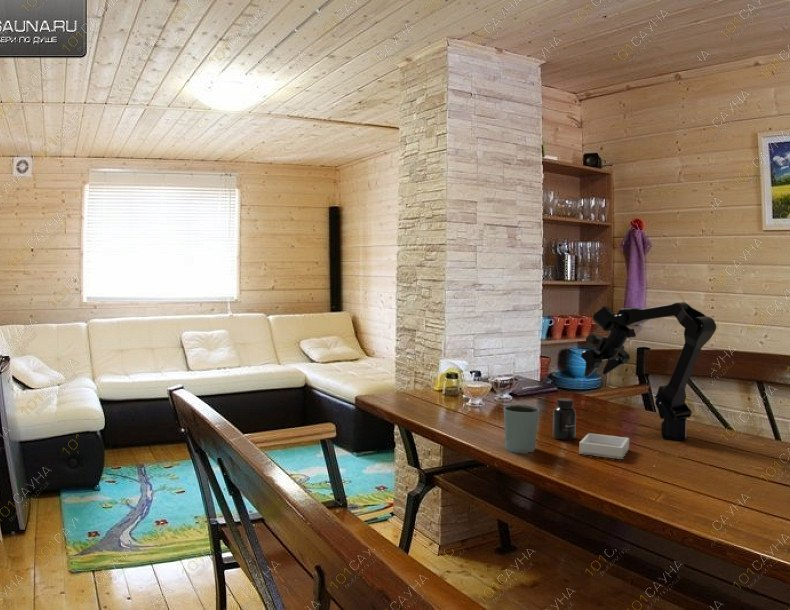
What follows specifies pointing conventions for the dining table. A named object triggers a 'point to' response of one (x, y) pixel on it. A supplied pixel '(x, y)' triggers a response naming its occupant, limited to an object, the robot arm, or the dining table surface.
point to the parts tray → (604, 446)
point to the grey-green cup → (520, 428)
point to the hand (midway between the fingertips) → (594, 375)
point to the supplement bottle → (564, 420)
